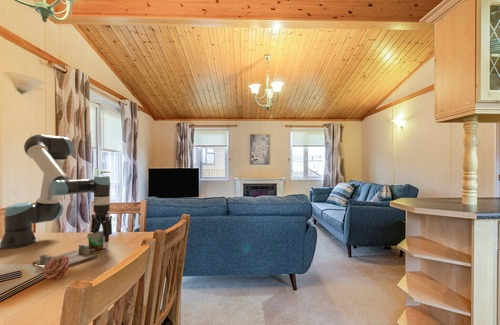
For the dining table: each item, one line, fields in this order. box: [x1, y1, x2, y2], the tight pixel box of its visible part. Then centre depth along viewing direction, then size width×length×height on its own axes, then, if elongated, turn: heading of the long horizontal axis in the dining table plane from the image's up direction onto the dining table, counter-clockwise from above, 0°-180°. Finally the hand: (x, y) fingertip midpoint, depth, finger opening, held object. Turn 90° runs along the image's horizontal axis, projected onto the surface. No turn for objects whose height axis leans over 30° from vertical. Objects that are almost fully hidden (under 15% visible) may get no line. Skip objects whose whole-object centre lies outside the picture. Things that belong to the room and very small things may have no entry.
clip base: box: [32, 243, 98, 268], centre depth 118 cm, size 18×18×5 cm
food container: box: [86, 230, 107, 253], centre depth 135 cm, size 12×6×10 cm, turn 168°
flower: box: [42, 255, 70, 281], centre depth 101 cm, size 10×9×8 cm
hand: (101, 246), depth 135 cm, fingers closed on food container, 7 cm apart
